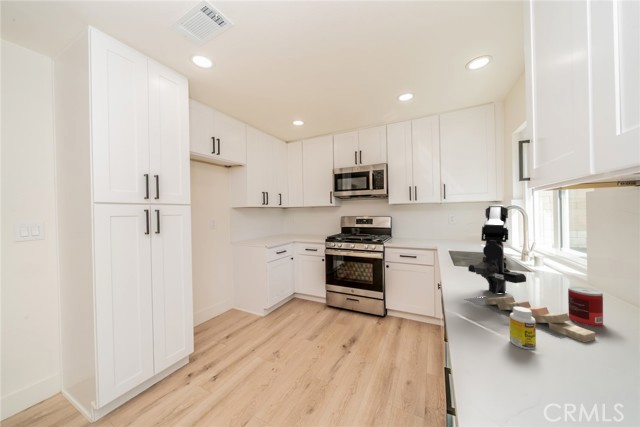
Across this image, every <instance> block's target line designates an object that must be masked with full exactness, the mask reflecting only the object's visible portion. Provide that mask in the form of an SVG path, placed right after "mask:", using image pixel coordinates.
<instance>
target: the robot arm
mask: <svg viewBox="0 0 640 427" xmlns="http://www.w3.org/2000/svg"><path fill="white" fill-rule="evenodd" d="M484 217H485V219H487V220H486V221H485V222H484V224H483V225H482V227H481V237H480V238H481V242H484V243H485V244H484V247H483V248H482V251H483V252H482V253H483V255H484V256H483V258H482V261H481V262H478V263H472V264H469V266H467V267H468V269H467V270H468V272H469V273H470V272H471V273H475V274H476V275H480V276H481V277H482V278H484V279H485V280H486V281H487V283H488V289H489V291H488V292H491V293H492V294H493V295H498V294H497V293H505V291H507V290H506V289H507V282H508V283H511V284H520V283H521V284H522V283H526V282H527V277H526V275H525V274H524V273H521V272H518V271H510V269H509V267H508V265H507V263H506V262H507V258H506V257H504V256H505V255H504V243H507V241H508V240H509V229H508V227H507V226H505V225H506V224H507V219H508V218H509V210H508V207H504V205H503V204H490V205H488V207H487V208H485V216H484Z"/></svg>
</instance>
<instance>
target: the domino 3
mask: <svg viewBox="0 0 640 427" xmlns="http://www.w3.org/2000/svg"><path fill="white" fill-rule="evenodd" d="M527 309H530V310H531V311H532V316H540V315H545V314H550V312H549V310H548V307H547V306H542V307H541V306H537V307H536V306H533V307H532V306H531V307H530V308H527ZM512 310H513V309H512Z"/></svg>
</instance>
